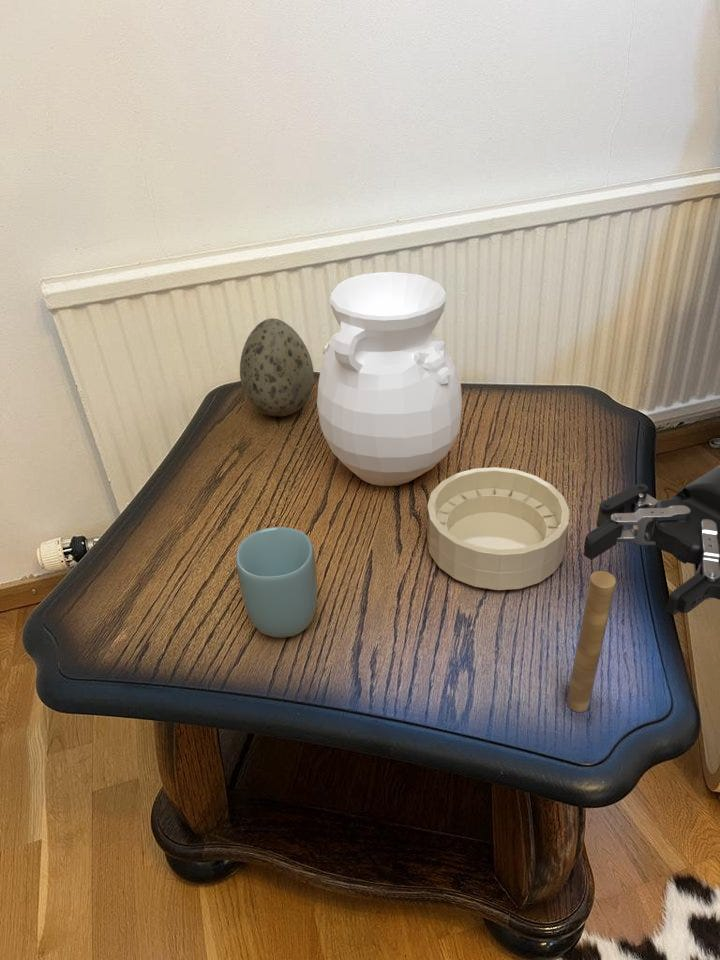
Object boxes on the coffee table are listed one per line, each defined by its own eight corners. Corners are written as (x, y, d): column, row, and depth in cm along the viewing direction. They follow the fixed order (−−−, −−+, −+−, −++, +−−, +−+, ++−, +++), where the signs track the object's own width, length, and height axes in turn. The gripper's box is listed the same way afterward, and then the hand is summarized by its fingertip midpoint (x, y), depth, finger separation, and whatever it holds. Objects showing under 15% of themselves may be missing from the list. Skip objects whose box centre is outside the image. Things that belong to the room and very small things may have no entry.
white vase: (402, 528, 92) (401, 340, 77) (294, 474, 102) (274, 299, 87) (486, 458, 103) (499, 282, 89) (381, 416, 113) (377, 251, 99)
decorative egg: (294, 387, 122) (285, 298, 113) (330, 415, 114) (323, 323, 105) (234, 408, 117) (219, 317, 108) (266, 439, 110) (253, 344, 101)
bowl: (582, 532, 90) (589, 492, 87) (530, 614, 80) (535, 573, 76) (464, 492, 97) (466, 453, 94) (403, 563, 87) (402, 523, 84)
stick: (592, 700, 71) (619, 575, 62) (584, 716, 70) (611, 590, 60) (571, 691, 72) (595, 567, 62) (563, 706, 71) (586, 581, 61)
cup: (323, 595, 84) (316, 525, 78) (318, 649, 77) (310, 578, 71) (253, 595, 84) (241, 526, 78) (242, 650, 78) (228, 579, 72)
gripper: (679, 436, 74) (567, 501, 67) (825, 506, 65) (714, 591, 57) (664, 497, 79) (558, 565, 71) (799, 571, 69) (692, 657, 62)
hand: (627, 576), depth 64 cm, fingers open, 8 cm apart
